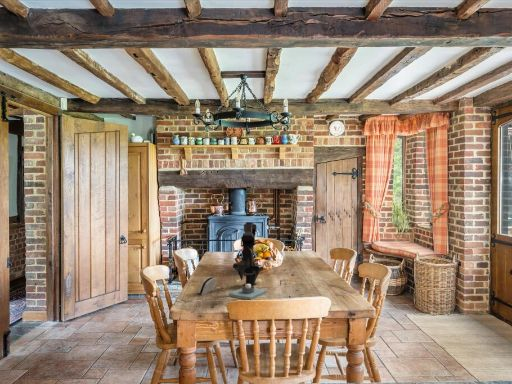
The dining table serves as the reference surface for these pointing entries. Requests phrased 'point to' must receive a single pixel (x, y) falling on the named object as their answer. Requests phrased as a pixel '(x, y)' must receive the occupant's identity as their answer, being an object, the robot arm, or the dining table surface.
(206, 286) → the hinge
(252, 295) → the piston plate
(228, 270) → the dining table surface
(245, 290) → the ring
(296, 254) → the dining table surface
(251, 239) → the robot arm
